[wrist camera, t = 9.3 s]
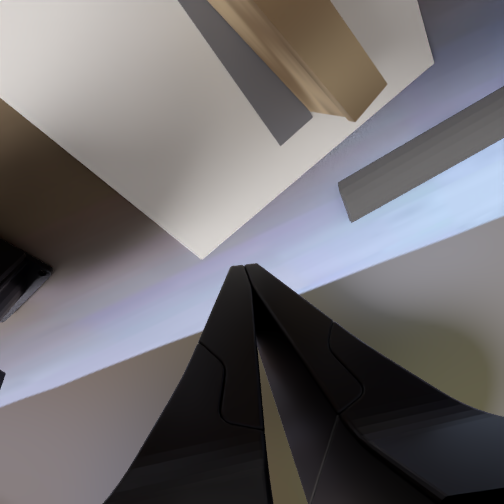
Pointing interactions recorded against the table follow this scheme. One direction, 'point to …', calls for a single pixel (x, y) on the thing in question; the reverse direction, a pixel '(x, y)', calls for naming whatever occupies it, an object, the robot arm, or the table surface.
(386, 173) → the half round rod
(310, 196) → the table surface
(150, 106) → the mat
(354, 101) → the fence fold
